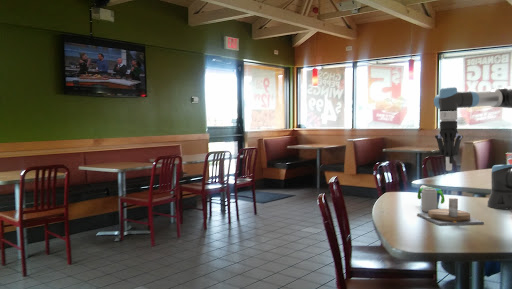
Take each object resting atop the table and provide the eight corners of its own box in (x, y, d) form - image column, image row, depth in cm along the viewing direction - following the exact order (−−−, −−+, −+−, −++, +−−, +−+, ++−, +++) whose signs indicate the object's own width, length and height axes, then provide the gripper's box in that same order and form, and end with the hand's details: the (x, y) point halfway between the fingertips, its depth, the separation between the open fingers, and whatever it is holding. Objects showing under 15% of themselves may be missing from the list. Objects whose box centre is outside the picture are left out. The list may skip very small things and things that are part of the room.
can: (438, 213, 214) (438, 189, 213) (422, 212, 215) (422, 189, 215) (435, 210, 221) (435, 187, 220) (420, 209, 222) (420, 187, 222)
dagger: (441, 200, 242) (432, 186, 268) (434, 193, 242) (425, 179, 269) (431, 209, 244) (423, 193, 271) (423, 201, 244) (416, 187, 271)
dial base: (457, 214, 210) (457, 211, 210) (483, 224, 190) (483, 221, 189) (417, 215, 209) (417, 212, 209) (439, 225, 188) (439, 222, 188)
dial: (425, 212, 210) (425, 192, 209) (464, 213, 206) (464, 193, 205) (432, 220, 191) (433, 198, 191) (475, 222, 188) (476, 200, 187)
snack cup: (449, 209, 223) (449, 190, 223) (434, 210, 219) (434, 191, 219) (427, 204, 238) (427, 186, 237) (412, 205, 234) (412, 187, 233)
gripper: (431, 121, 202) (431, 170, 203) (457, 120, 191) (457, 172, 192) (440, 120, 206) (440, 168, 207) (466, 120, 195) (466, 170, 196)
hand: (449, 170), depth 200 cm, fingers closed
